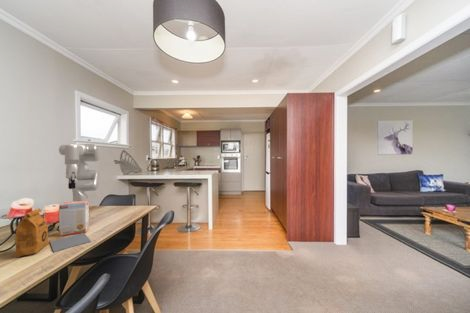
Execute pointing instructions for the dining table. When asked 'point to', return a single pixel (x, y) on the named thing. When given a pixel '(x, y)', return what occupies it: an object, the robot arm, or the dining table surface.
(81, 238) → the mat
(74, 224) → the cracker box
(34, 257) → the dining table surface
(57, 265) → the dining table surface
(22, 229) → the coffee package
